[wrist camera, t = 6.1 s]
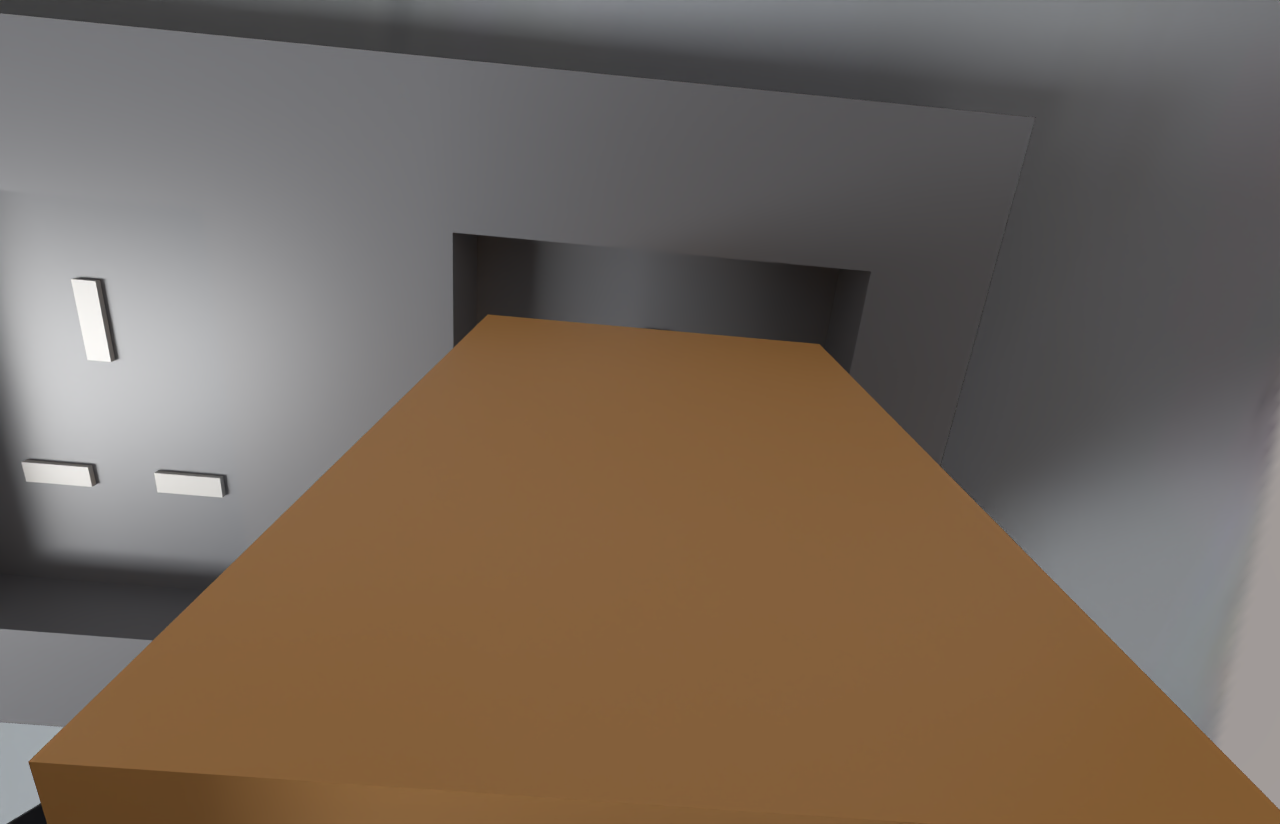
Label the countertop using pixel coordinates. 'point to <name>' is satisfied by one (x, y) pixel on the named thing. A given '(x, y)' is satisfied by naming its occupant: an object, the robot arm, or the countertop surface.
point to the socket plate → (399, 277)
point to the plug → (636, 624)
